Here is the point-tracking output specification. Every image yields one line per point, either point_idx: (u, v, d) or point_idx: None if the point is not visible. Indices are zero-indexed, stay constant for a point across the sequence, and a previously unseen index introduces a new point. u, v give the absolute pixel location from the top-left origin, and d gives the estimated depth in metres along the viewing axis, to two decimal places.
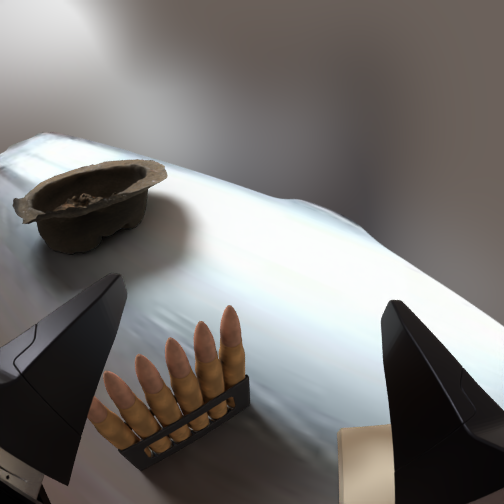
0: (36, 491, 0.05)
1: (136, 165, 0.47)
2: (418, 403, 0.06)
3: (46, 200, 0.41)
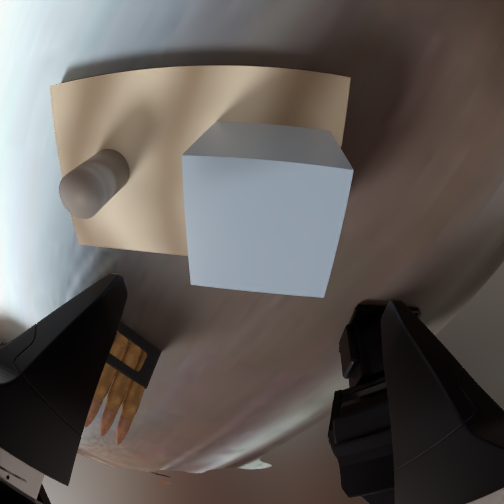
0: (37, 491, 0.05)
1: None
2: (418, 403, 0.06)
3: None
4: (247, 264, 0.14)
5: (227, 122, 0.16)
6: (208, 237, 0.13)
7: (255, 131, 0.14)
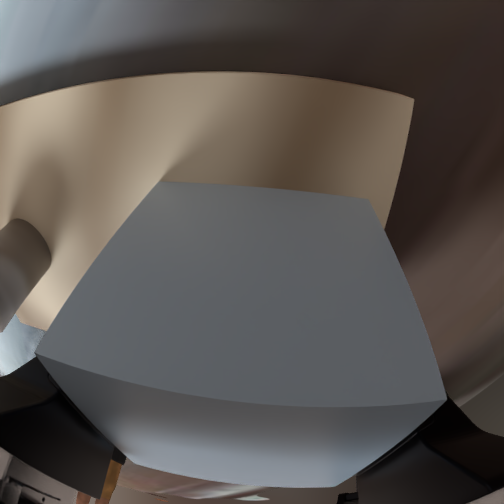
0: None
1: None
2: None
3: None
4: (212, 471, 0.06)
5: (177, 185, 0.09)
6: (138, 445, 0.06)
7: (223, 220, 0.07)
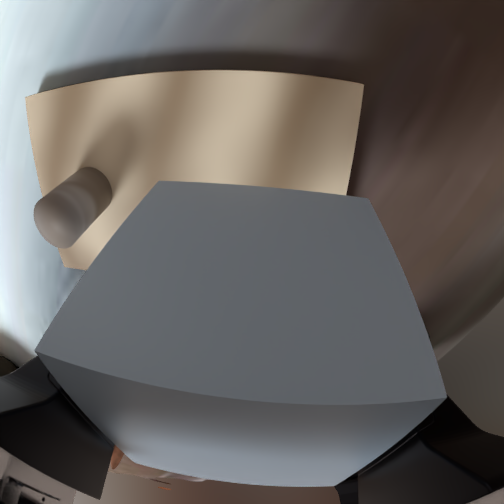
0: None
1: None
2: None
3: None
4: (212, 470, 0.06)
5: (177, 184, 0.09)
6: (138, 444, 0.06)
7: (223, 219, 0.07)
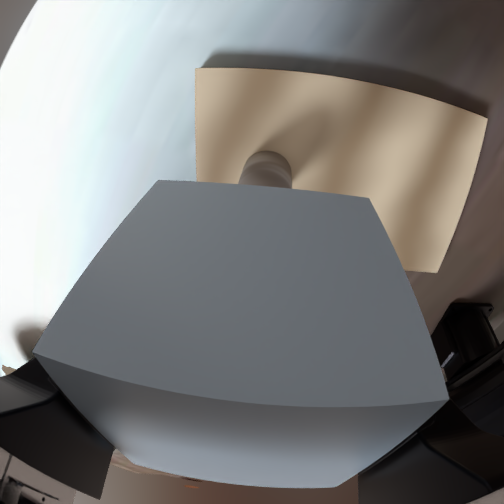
0: None
1: None
2: None
3: None
4: (212, 471, 0.06)
5: (176, 184, 0.09)
6: (137, 445, 0.06)
7: (222, 219, 0.07)
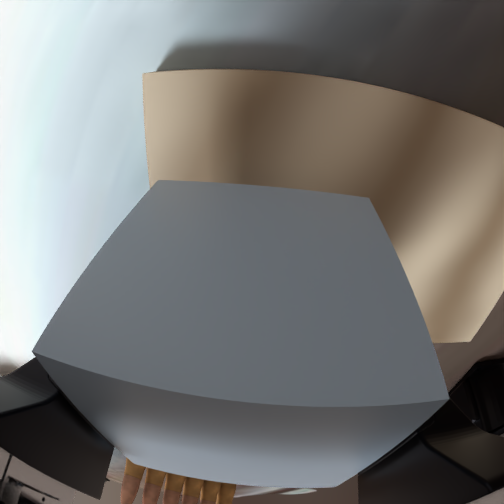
0: None
1: None
2: None
3: None
4: (212, 471, 0.06)
5: (176, 184, 0.09)
6: (138, 445, 0.06)
7: (222, 218, 0.07)
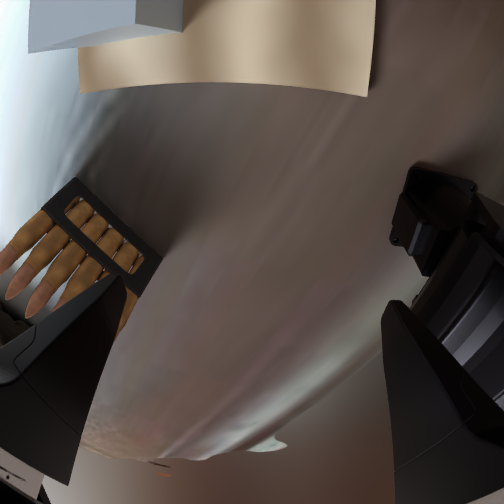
0: (37, 491, 0.05)
1: None
2: (418, 403, 0.06)
3: None
4: (66, 11, 0.08)
5: None
6: None
7: None
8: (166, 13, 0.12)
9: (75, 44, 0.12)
